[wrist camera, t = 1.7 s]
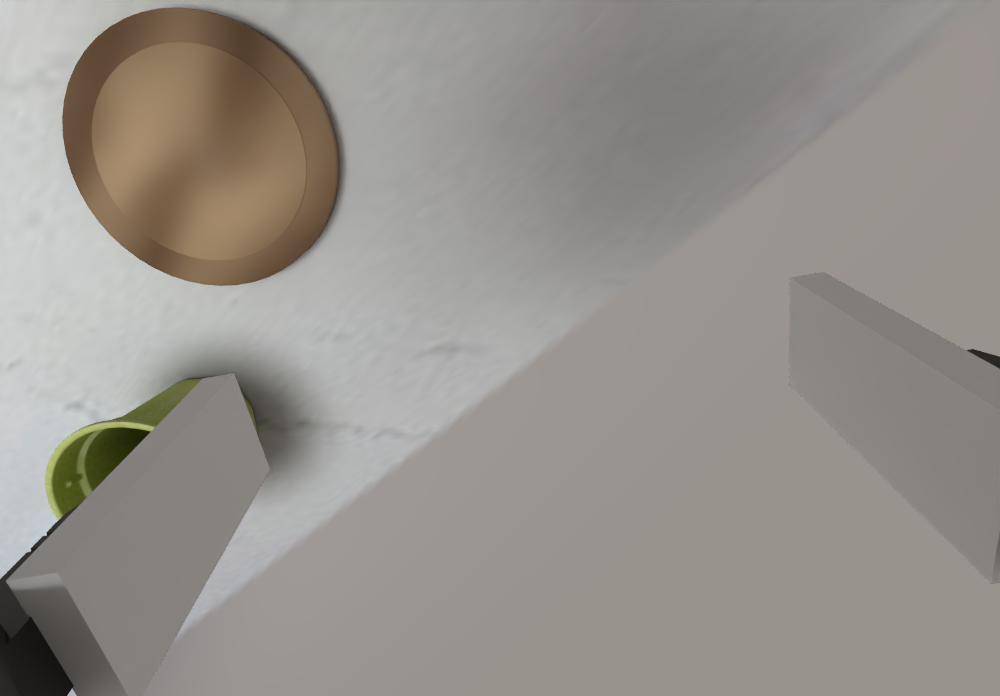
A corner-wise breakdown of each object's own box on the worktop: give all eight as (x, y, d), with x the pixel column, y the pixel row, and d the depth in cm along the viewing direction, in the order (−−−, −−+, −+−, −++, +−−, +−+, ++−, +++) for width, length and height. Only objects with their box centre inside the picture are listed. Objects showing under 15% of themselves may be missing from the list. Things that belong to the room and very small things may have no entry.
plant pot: (235, 504, 43) (177, 601, 35) (107, 428, 40) (12, 513, 32) (312, 411, 40) (268, 491, 32) (179, 323, 38) (96, 386, 30)
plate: (54, 222, 35) (41, 226, 34) (101, -43, 30) (87, -48, 29) (296, 316, 38) (290, 322, 37) (375, 85, 33) (371, 85, 32)
